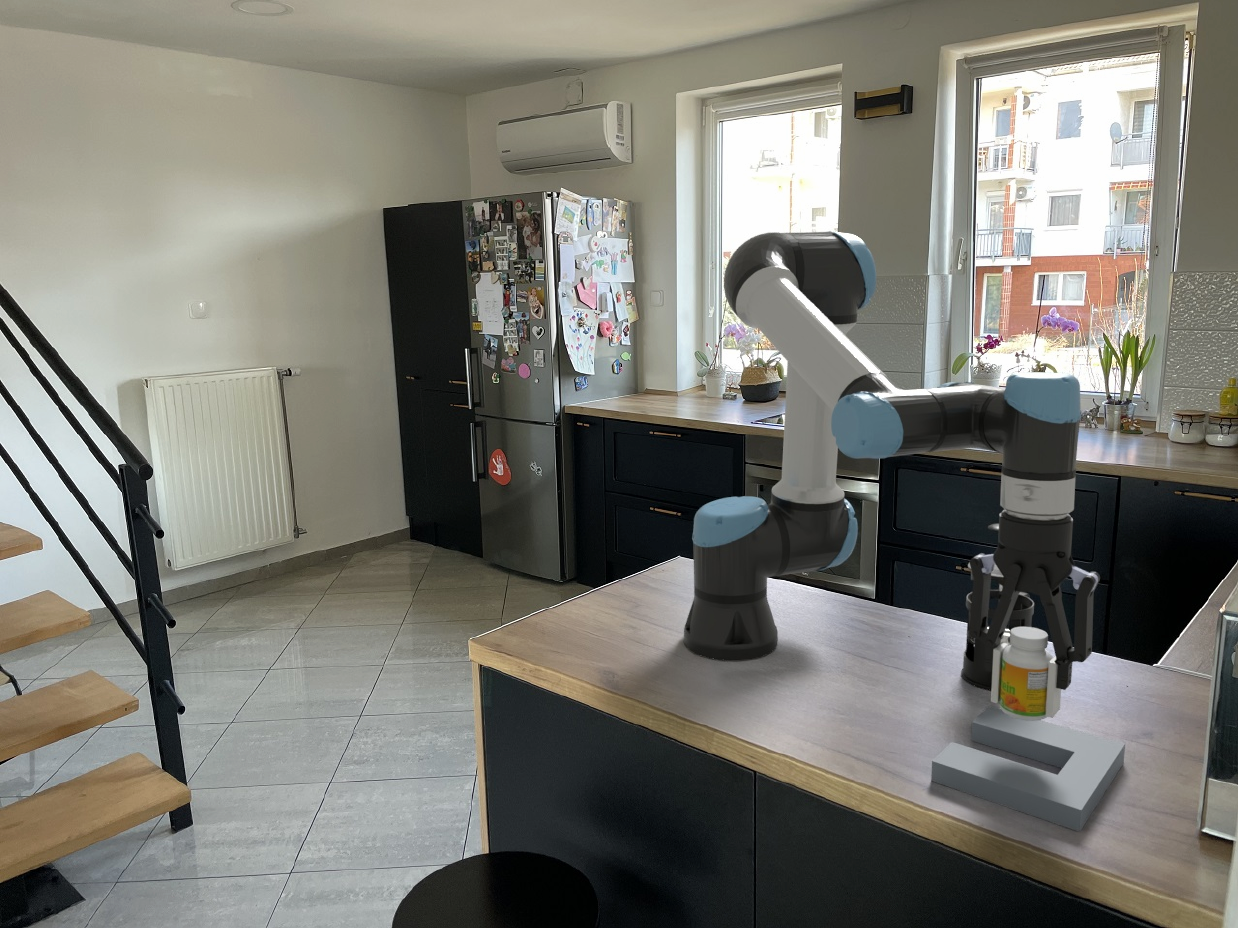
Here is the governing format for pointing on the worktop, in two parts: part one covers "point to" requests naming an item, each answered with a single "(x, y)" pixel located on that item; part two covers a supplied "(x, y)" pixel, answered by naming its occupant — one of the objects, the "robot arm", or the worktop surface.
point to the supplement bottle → (1025, 674)
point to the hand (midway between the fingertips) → (1024, 704)
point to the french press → (976, 654)
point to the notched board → (1026, 787)
